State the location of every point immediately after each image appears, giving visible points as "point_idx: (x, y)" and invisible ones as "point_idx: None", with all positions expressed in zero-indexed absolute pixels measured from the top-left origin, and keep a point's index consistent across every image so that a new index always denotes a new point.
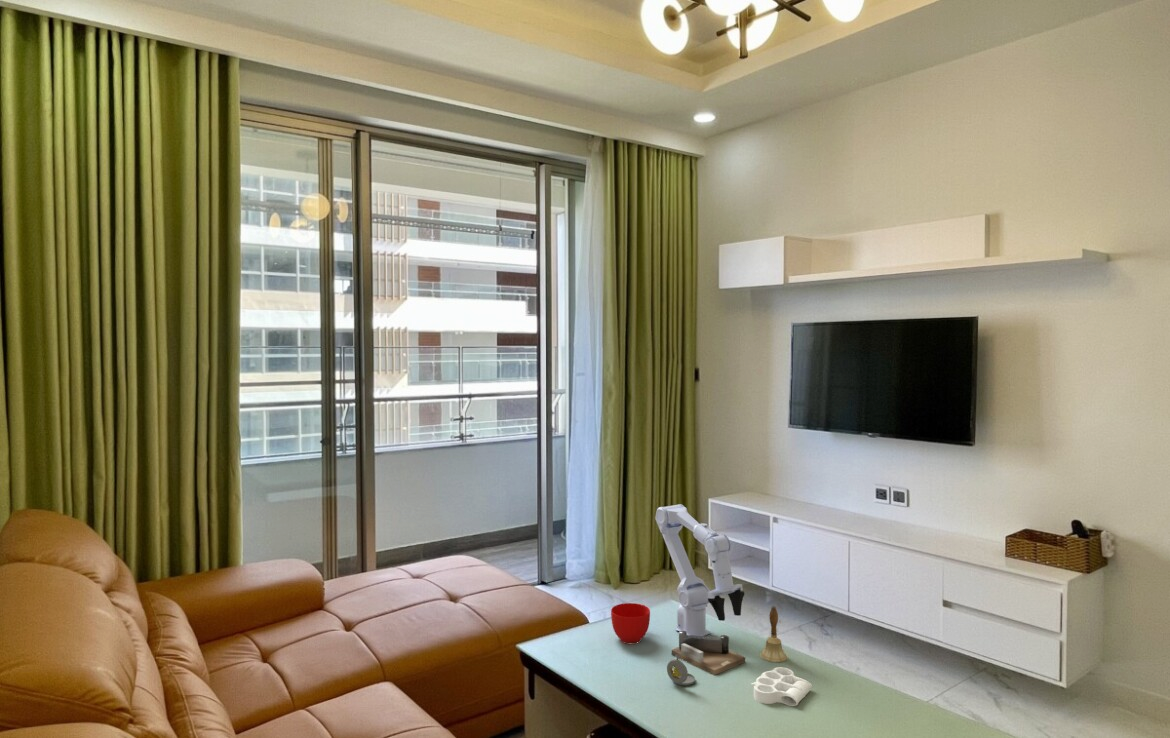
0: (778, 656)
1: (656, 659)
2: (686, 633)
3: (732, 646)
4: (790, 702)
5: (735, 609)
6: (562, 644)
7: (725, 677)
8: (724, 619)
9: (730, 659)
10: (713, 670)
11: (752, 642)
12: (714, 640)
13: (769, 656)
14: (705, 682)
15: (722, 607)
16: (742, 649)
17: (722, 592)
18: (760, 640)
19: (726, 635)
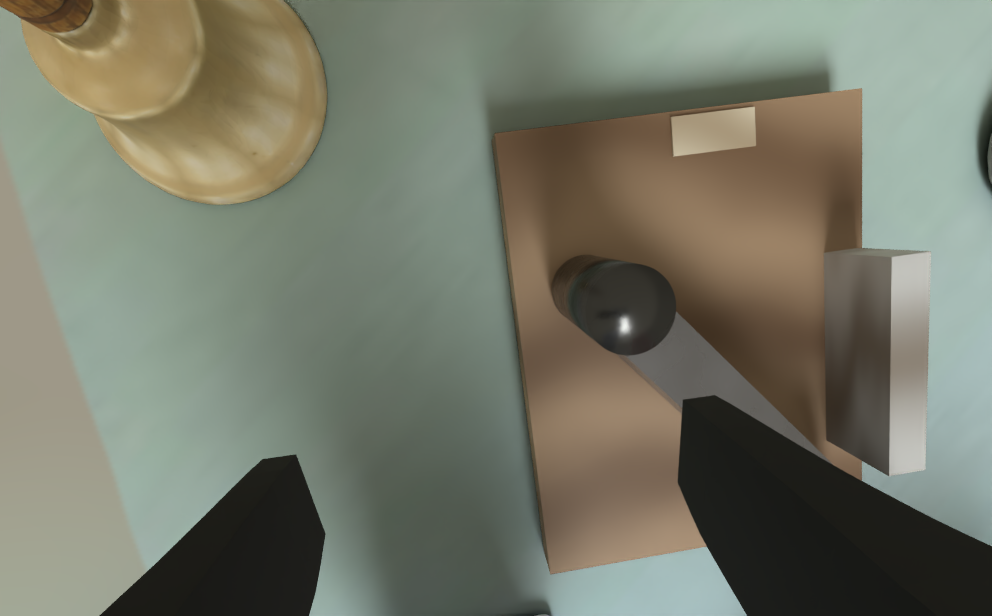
0: None
1: (955, 484)
2: None
3: (389, 402)
4: None
5: (281, 603)
6: None
7: (792, 27)
8: (701, 401)
9: (627, 168)
10: (858, 100)
11: (194, 383)
12: (708, 347)
13: (283, 42)
14: (953, 49)
15: (954, 565)
16: (356, 324)
17: None
18: (105, 380)
19: (590, 326)
